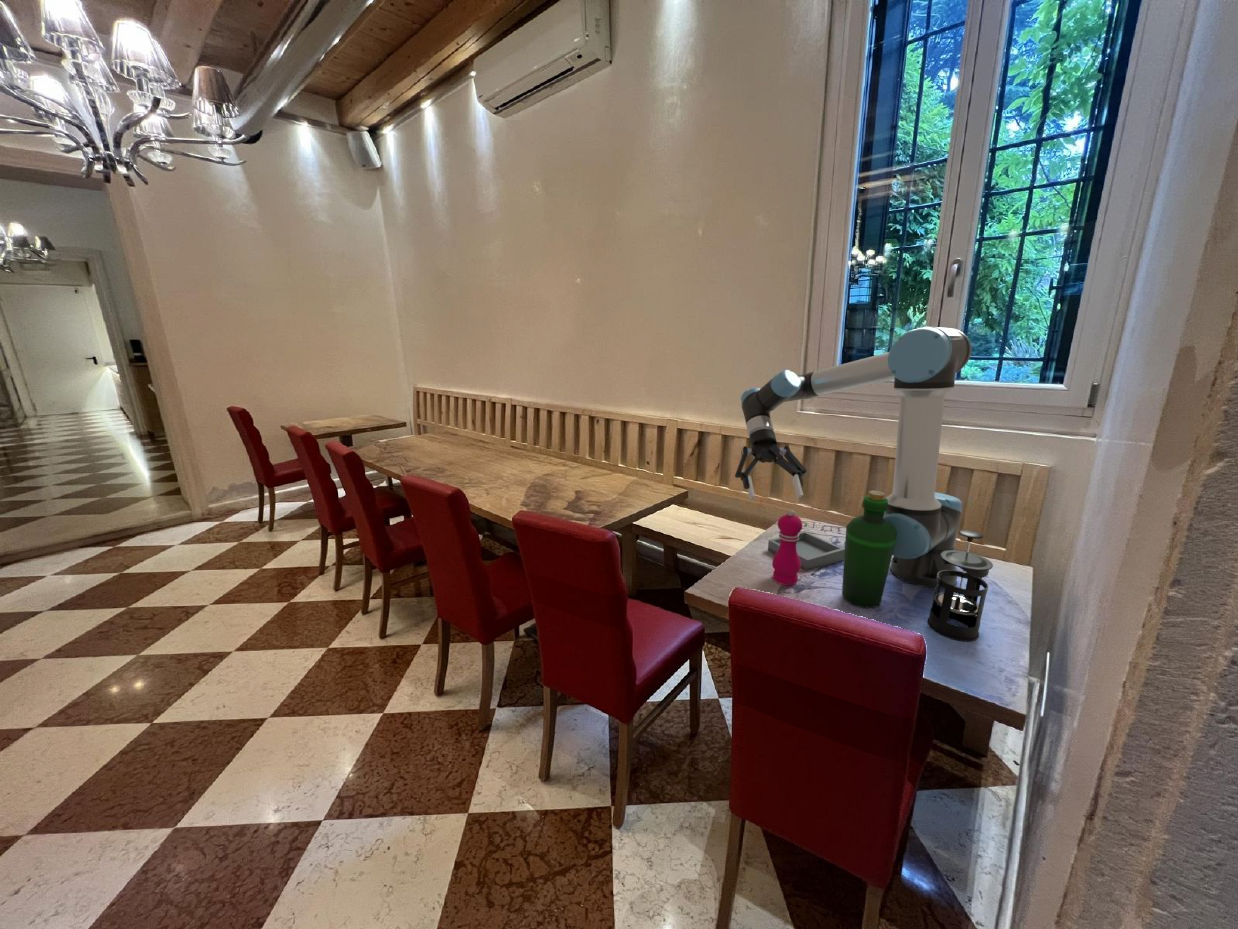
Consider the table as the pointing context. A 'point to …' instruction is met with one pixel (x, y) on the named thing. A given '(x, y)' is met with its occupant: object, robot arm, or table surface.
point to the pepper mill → (787, 550)
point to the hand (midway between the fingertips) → (776, 497)
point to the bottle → (868, 553)
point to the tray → (812, 551)
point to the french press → (958, 605)
